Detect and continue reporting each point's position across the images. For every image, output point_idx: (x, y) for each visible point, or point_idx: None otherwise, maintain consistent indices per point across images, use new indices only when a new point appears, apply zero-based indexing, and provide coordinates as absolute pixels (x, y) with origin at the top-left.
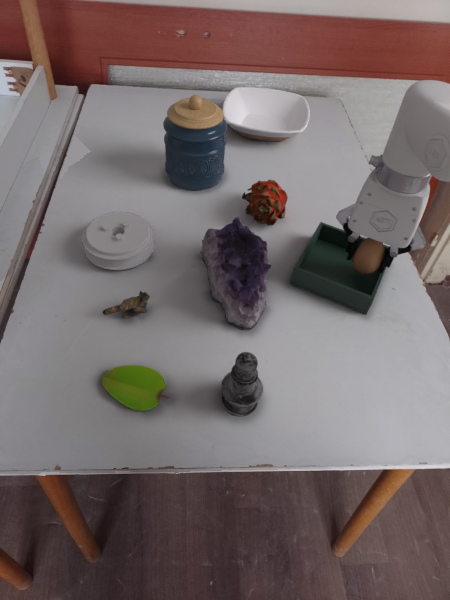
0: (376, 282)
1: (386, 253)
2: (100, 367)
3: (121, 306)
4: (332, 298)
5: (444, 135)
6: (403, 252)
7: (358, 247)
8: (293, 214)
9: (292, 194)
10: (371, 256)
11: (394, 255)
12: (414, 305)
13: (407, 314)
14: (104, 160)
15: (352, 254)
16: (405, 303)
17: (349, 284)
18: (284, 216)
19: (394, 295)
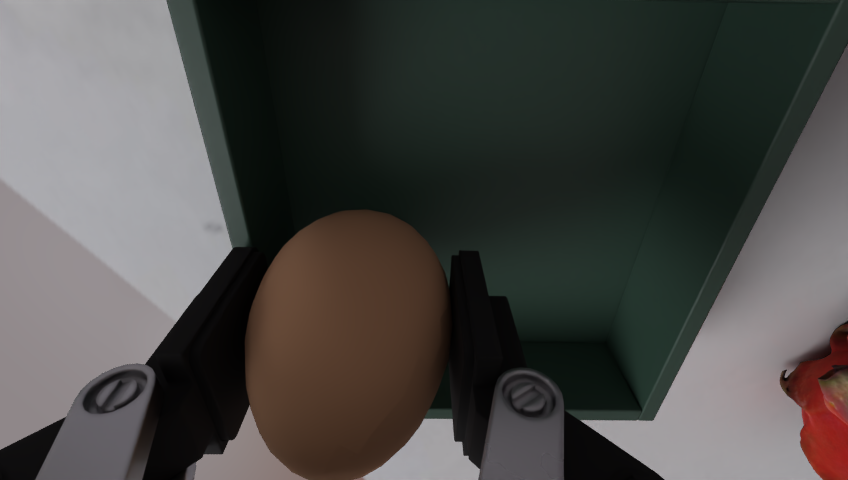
0: (232, 155)
1: (214, 377)
2: None
3: None
4: None
5: None
6: (29, 443)
7: (438, 348)
8: (710, 403)
9: (713, 470)
10: (311, 308)
11: (115, 384)
12: (79, 176)
13: (65, 99)
14: None
15: (457, 286)
16: (119, 168)
17: (403, 142)
18: (822, 384)
19: (188, 192)
